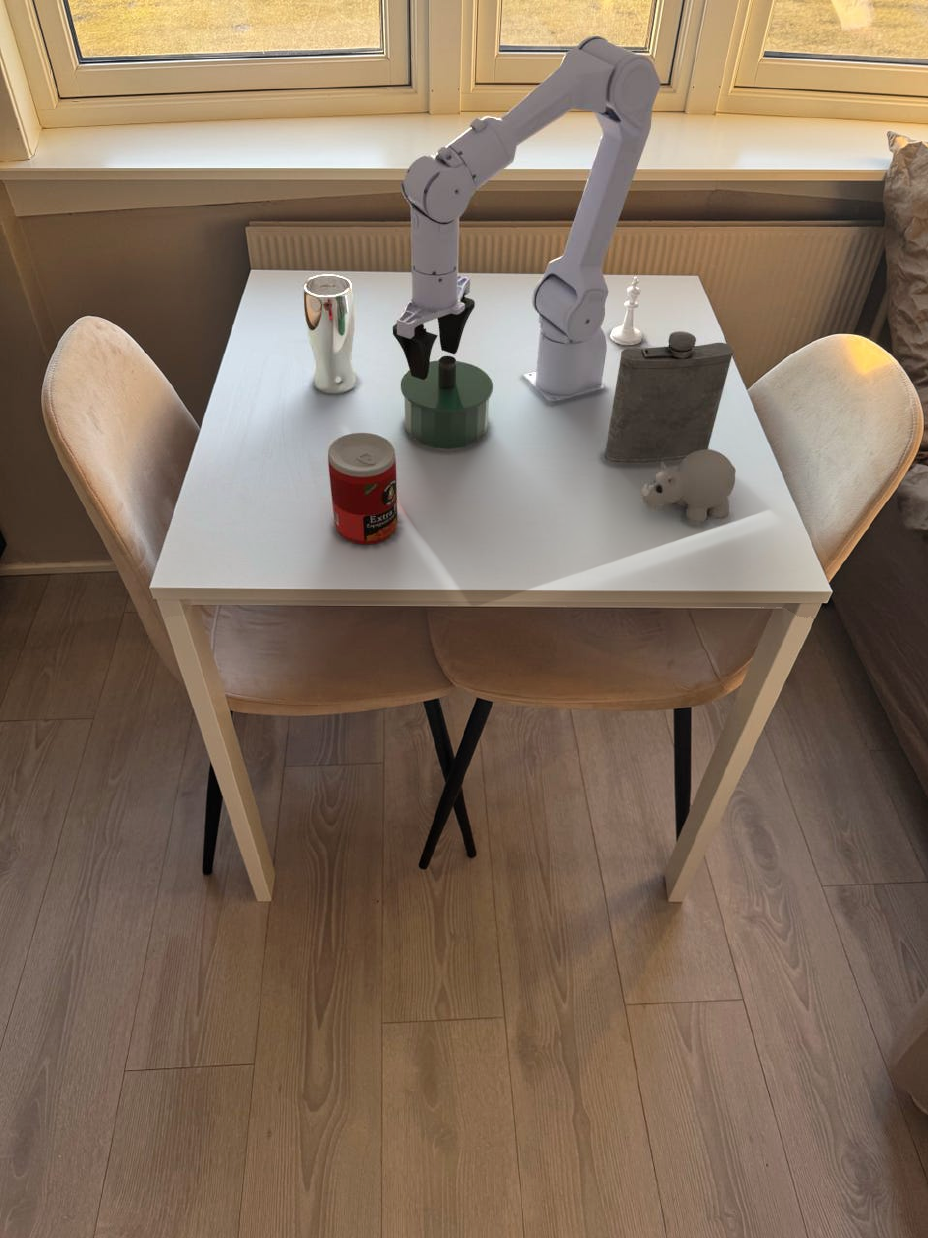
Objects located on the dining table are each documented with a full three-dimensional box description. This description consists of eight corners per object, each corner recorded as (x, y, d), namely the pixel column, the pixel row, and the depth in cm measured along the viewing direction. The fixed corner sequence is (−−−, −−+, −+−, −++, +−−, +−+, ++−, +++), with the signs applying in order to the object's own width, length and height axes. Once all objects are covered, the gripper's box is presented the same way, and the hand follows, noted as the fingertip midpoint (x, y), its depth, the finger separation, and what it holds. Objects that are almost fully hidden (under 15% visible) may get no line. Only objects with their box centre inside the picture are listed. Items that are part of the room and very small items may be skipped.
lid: (467, 359, 131) (468, 328, 127) (508, 404, 123) (511, 372, 120) (386, 378, 127) (385, 347, 123) (423, 425, 119) (423, 393, 116)
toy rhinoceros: (624, 501, 119) (635, 446, 112) (710, 488, 121) (725, 434, 115) (646, 537, 114) (658, 482, 108) (735, 523, 116) (752, 468, 110)
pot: (464, 397, 134) (465, 357, 130) (501, 439, 127) (504, 399, 123) (392, 415, 131) (390, 375, 126) (426, 460, 124) (425, 419, 119)
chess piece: (646, 335, 148) (657, 275, 141) (633, 348, 146) (643, 287, 138) (618, 326, 150) (628, 267, 143) (605, 339, 147) (614, 279, 140)
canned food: (374, 554, 110) (370, 480, 102) (321, 530, 113) (312, 456, 105) (410, 520, 115) (409, 446, 107) (358, 497, 118) (353, 424, 110)
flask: (711, 461, 125) (743, 339, 112) (609, 469, 123) (630, 347, 110) (702, 445, 128) (732, 325, 115) (601, 453, 126) (621, 331, 113)
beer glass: (351, 398, 134) (344, 300, 123) (305, 392, 134) (294, 294, 124) (364, 373, 138) (359, 277, 128) (319, 367, 139) (310, 271, 128)
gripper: (431, 296, 108) (431, 398, 117) (492, 250, 117) (487, 348, 126) (380, 281, 110) (384, 381, 120) (444, 237, 119) (443, 334, 129)
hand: (434, 363), depth 123 cm, fingers open, 7 cm apart
